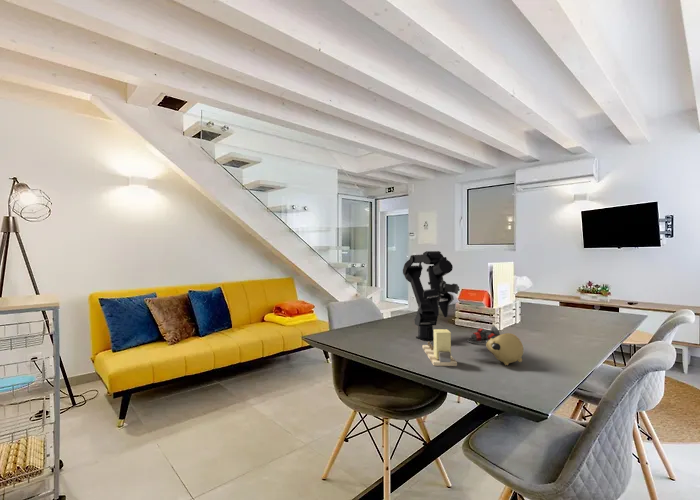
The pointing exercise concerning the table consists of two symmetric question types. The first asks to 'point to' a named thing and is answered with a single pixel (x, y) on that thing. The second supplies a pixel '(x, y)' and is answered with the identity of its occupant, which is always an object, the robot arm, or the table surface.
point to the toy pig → (506, 348)
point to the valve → (483, 335)
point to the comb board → (435, 361)
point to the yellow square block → (441, 341)
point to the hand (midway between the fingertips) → (441, 316)
